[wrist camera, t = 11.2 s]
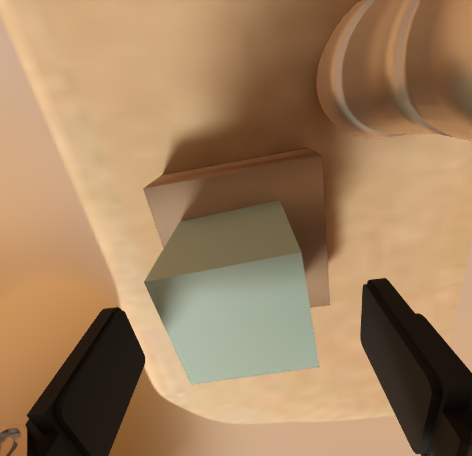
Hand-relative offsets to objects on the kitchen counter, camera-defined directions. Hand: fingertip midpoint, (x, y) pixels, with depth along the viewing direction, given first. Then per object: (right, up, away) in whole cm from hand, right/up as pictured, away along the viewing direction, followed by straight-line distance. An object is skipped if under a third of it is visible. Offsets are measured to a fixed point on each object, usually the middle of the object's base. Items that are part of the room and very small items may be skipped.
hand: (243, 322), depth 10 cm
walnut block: (0, +4, +10) cm, 10 cm away
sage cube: (0, +2, +6) cm, 6 cm away
